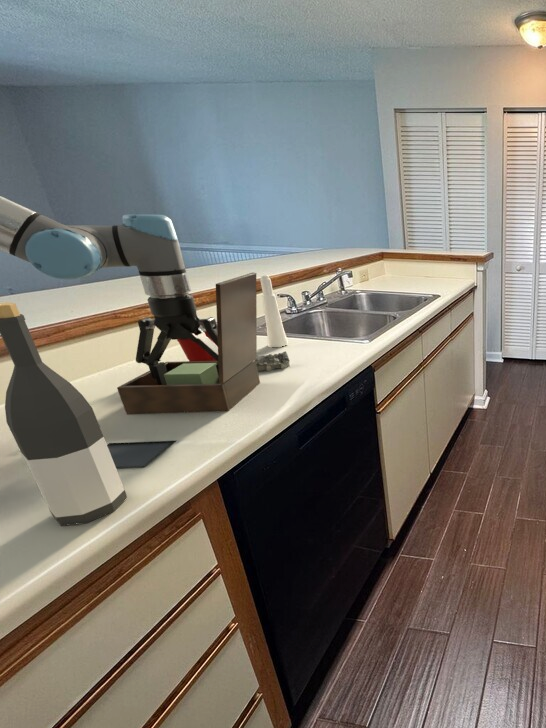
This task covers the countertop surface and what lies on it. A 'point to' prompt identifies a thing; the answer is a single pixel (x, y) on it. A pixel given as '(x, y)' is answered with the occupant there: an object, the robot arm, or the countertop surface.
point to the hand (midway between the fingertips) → (197, 390)
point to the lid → (236, 324)
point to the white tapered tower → (272, 315)
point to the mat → (136, 453)
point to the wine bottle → (57, 432)
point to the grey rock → (272, 361)
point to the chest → (186, 393)
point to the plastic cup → (195, 349)
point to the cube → (193, 374)
